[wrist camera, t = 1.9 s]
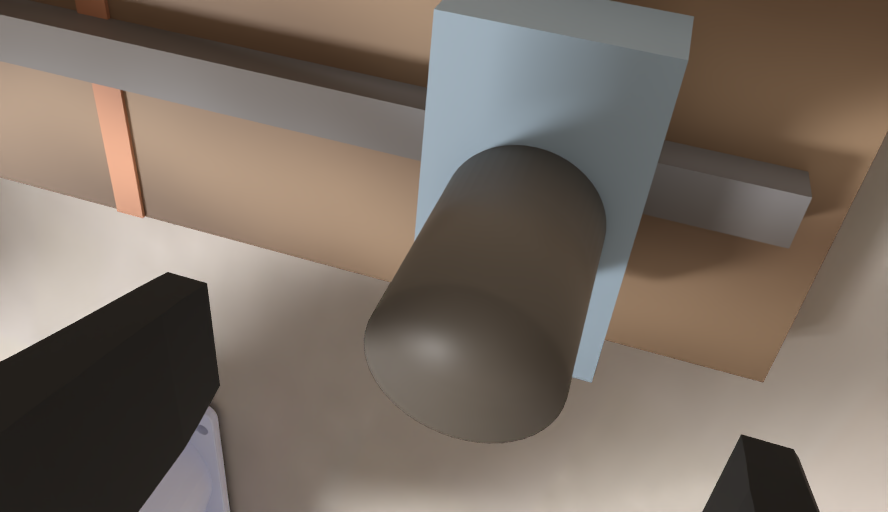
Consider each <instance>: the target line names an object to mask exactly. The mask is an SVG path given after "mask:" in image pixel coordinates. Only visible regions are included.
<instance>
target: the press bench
mask: <svg viewBox="0 0 888 512" xmlns="http://www.w3.org/2000/svg"><path fill="white" fill-rule="evenodd" d="M441 1H442V0H0V177H1V178H5V179H8V180H12V181H16V182H20V183H23V184H27V185H31V186H34V187H38V188H42V189H46V190H49V191H53V192H57V193H60V194H64V195H68V196H72V197H75V198H79V199H83V200H87V201H90V202H94V203H98V204H101V205H105V206H109V207H113V208H116V209H117V211H118V212H122V213H126V214H129V215H133V216H137V217H141V218H144V217H145V216H146V217H150V218H154V219H157V220H161V221H165V222H168V223H172V224H176V225H180V226H183V227H187V228H191V229H194V230H198V231H202V232H206V233H209V234H213V235H217V236H220V237H224V238H228V239H232V240H235V241H239V242H243V243H247V244H250V245H254V246H258V247H261V248H265V249H269V250H273V251H276V252H280V253H284V254H287V255H291V256H295V257H299V258H302V259H306V260H310V261H314V262H317V263H321V264H325V265H328V266H332V267H336V268H340V269H343V270H347V271H351V272H354V273H358V274H362V275H366V276H369V277H373V278H377V279H380V280H384V281H388V282H391V281H392V279H393V278H394V276H395V274H396V272H397V271H398V269H399V267H400V265H401V264H402V262H403V260H404V259H405V257H406V255H407V253H408V252H409V250H410V248H411V246H412V245H413V243H414V238H415V226H416V215H417V203H418V191H419V179H420V167H421V156H422V144H423V132H424V120H425V108H426V97H427V85H428V73H429V61H430V49H431V38H432V26H433V14H434V9H435V7H436V6H437V5H438V4H439V3H440V2H441ZM611 1H616V2H621V3H626V4H631V5H637V6H642V7H647V8H652V9H658V10H663V11H668V12H673V13H679V14H684V15H689V16H694V20H693V28H692V36H691V44H690V52H689V60H688V63H687V67H686V70H685V73H684V77H683V80H682V83H681V87H680V90H679V93H678V97H677V100H676V103H675V107H674V110H673V113H672V117H671V120H670V123H669V127H668V130H667V133H666V137H665V140H664V143H663V147H662V150H661V153H660V157H659V160H658V163H657V167H656V170H655V173H654V177H653V180H652V183H651V187H650V190H649V193H648V197H647V200H646V203H645V207H644V210H643V213H642V217H641V220H640V223H639V227H638V230H637V233H636V237H635V240H634V243H633V247H632V250H631V253H630V257H629V260H628V263H627V267H626V270H625V273H624V277H623V280H622V283H621V287H620V290H619V293H618V297H617V300H616V303H615V307H614V310H613V313H612V317H611V320H610V323H609V327H608V330H607V333H606V336H605V340H607V341H611V342H615V343H619V344H622V345H626V346H630V347H634V348H637V349H641V350H645V351H648V352H652V353H656V354H660V355H663V356H667V357H671V358H674V359H678V360H682V361H686V362H689V363H693V364H697V365H700V366H704V367H708V368H712V369H715V370H719V371H723V372H727V373H730V374H734V375H738V376H741V377H745V378H749V379H753V380H756V381H760V382H764V380H765V378H766V376H767V374H768V372H769V370H770V368H771V366H772V364H773V362H774V360H775V358H776V356H777V354H778V352H779V350H780V348H781V346H782V344H783V342H784V340H785V338H786V335H787V333H788V331H789V329H790V327H791V325H792V323H793V321H794V319H795V317H796V315H797V313H798V311H799V309H800V307H801V305H802V303H803V301H804V299H805V297H806V295H807V293H808V291H809V289H810V287H811V285H812V283H813V281H814V279H815V277H816V275H817V273H818V271H819V269H820V267H821V265H822V263H823V261H824V259H825V257H826V255H827V253H828V251H829V249H830V247H831V245H832V243H833V241H834V239H835V237H836V235H837V233H838V231H839V229H840V227H841V225H842V222H843V220H844V218H845V216H846V214H847V212H848V210H849V208H850V206H851V204H852V202H853V200H854V198H855V196H856V194H857V192H858V190H859V188H860V186H861V184H862V182H863V180H864V178H865V176H866V174H867V172H868V170H869V168H870V166H871V164H872V162H873V160H874V158H875V156H876V154H877V152H878V150H879V148H880V146H881V144H882V142H883V140H884V138H885V136H886V134H887V132H888V0H611Z"/></svg>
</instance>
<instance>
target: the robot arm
mask: <svg viewBox="0 0 888 512" xmlns="http://www.w3.org/2000/svg"><path fill="white" fill-rule="evenodd" d="M219 386H220V383H219V375H218V367H217V359H216V351H215V343H214V335H213V327H212V319H211V311H210V304H209V296H208V288H207V283H204V282H201V281H197V280H194V279H190V278H187V277H183V276H180V275H176V274H173V273H169V272H167V273H165V274H163V275H161V276H159V277H157V278H155V279H153V280H151V281H149V282H148V283H146V284H144V285H142V286H140V287H138V288H136V289H135V290H133V291H131V292H129V293H127V294H125V295H124V296H122V297H120V298H118V299H116V300H114V301H113V302H111V303H109V304H107V305H105V306H104V307H102V308H100V309H98V310H96V311H95V312H93V313H91V314H89V315H87V316H85V317H84V318H82V319H80V320H78V321H76V322H75V323H73V324H71V325H69V326H67V327H65V328H63V329H61V330H60V331H58V332H56V333H54V334H52V335H50V336H48V337H47V338H45V339H43V340H41V341H39V342H37V343H35V344H33V345H32V346H30V347H28V348H26V349H24V350H22V351H20V352H19V353H17V354H15V355H13V356H11V357H9V358H7V359H5V360H3V361H1V362H0V512H230V507H229V499H228V492H227V484H226V476H225V469H224V461H223V453H222V446H221V438H220V430H219V423H218V417H217V414H216V412H215V411H214V410H213V409H212V408H211V407H210V406H209V405H210V403H211V401H212V399H213V397H214V395H215V394H216V392H217V390H218V388H219ZM703 512H820V511H819V509H818V506H817V504H816V501H815V499H814V496H813V494H812V491H811V488H810V486H809V483H808V481H807V478H806V476H805V473H804V470H803V468H802V465H801V462H800V460H799V458H798V456H797V454H796V453H795V451H794V449H791V448H787V447H784V446H780V445H777V444H773V443H770V442H766V441H763V440H759V439H756V438H752V437H748V436H745V435H741V436H740V438H739V440H738V442H737V444H736V446H735V448H734V450H733V452H732V454H731V456H730V458H729V460H728V462H727V464H726V466H725V468H724V470H723V472H722V474H721V476H720V478H719V480H718V482H717V484H716V486H715V488H714V490H713V492H712V494H711V496H710V498H709V500H708V502H707V504H706V506H705V508H704V510H703Z"/></svg>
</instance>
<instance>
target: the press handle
mask: <svg viewBox="0 0 888 512" xmlns="http://www.w3.org/2000/svg"><path fill="white" fill-rule="evenodd" d="M693 20H694V16H689V15H684V14H679V13H673V12H668V11H663V10H658V9H652V8H647V7H642V6H637V5H631V4H626V3H621V2H616V1H611V0H442V1H441V2H440V3H439V4H438V5H437V6H436V7H435V9H434V14H433V26H432V38H431V49H430V61H429V73H428V85H427V97H426V108H425V120H424V132H423V144H422V156H421V167H420V179H419V191H418V203H417V215H416V226H415V238H414V243H413V245H412V246H411V248H410V250H409V252H408V253H407V255H406V257H405V259H404V260H403V262H402V264H401V265H400V267H399V269H398V271H397V272H396V274H395V276H394V278H393V279H392V281H391V283H390V284H389V286H388V288H387V290H386V291H385V293H384V295H383V297H382V298H381V300H380V302H379V303H378V305H377V307H376V309H375V310H374V312H373V314H372V316H371V318H370V319H369V321H368V324H367V327H366V330H365V337H364V351H365V356H366V361H367V363H368V366H369V369H370V371H371V373H372V375H373V377H374V379H375V381H376V382H377V384H378V385H379V387H380V388H381V390H382V391H383V392H384V393H385V394H386V396H387V397H388V398H389V399H390V400H391V401H392V402H393V403H394V404H395V405H396V406H397V407H398V408H400V409H401V410H402V411H403V412H405V413H406V414H407V415H409V416H410V417H412V418H413V419H414V420H416V421H417V422H419V423H421V424H423V425H425V426H427V427H428V428H430V429H433V430H435V431H437V432H439V433H442V434H445V435H448V436H451V437H454V438H458V439H462V440H466V441H472V442H479V443H505V442H513V441H517V440H521V439H525V438H527V437H530V436H532V435H535V434H537V433H538V432H540V431H542V430H544V429H545V428H546V427H547V426H549V425H550V424H551V423H552V422H553V421H554V420H555V419H556V418H557V417H558V415H559V414H560V412H561V411H562V409H563V407H564V405H565V402H566V399H567V396H568V392H569V387H570V383H571V379H572V377H573V378H577V379H580V380H584V381H587V382H591V383H592V380H593V376H594V373H595V370H596V366H597V363H598V360H599V356H600V353H601V350H602V346H603V343H604V340H605V336H606V333H607V330H608V327H609V323H610V320H611V317H612V313H613V310H614V307H615V303H616V300H617V297H618V293H619V290H620V287H621V283H622V280H623V277H624V273H625V270H626V267H627V263H628V260H629V257H630V253H631V250H632V247H633V243H634V240H635V237H636V233H637V230H638V227H639V223H640V220H641V217H642V213H643V210H644V207H645V203H646V200H647V197H648V193H649V190H650V187H651V183H652V180H653V177H654V173H655V170H656V167H657V163H658V160H659V157H660V153H661V150H662V147H663V143H664V140H665V137H666V133H667V130H668V127H669V123H670V120H671V117H672V113H673V110H674V107H675V103H676V100H677V97H678V93H679V90H680V87H681V83H682V80H683V77H684V73H685V70H686V67H687V63H688V60H689V52H690V44H691V36H692V28H693Z"/></svg>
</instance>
